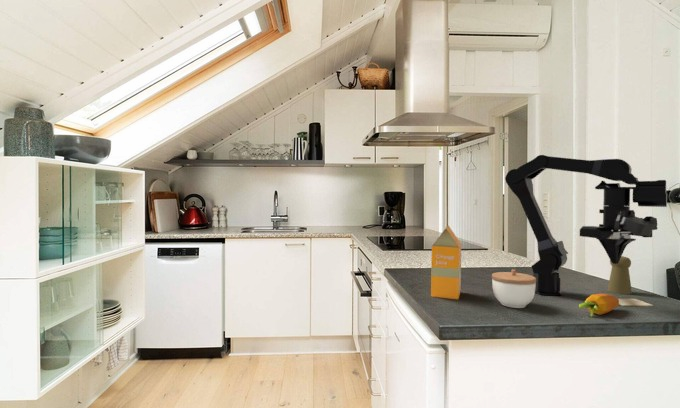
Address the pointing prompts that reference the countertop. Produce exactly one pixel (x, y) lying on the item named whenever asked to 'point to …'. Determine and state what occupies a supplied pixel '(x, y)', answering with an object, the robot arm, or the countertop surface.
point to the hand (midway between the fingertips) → (615, 263)
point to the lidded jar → (513, 288)
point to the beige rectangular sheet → (632, 302)
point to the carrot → (600, 303)
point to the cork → (620, 277)
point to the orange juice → (446, 266)
